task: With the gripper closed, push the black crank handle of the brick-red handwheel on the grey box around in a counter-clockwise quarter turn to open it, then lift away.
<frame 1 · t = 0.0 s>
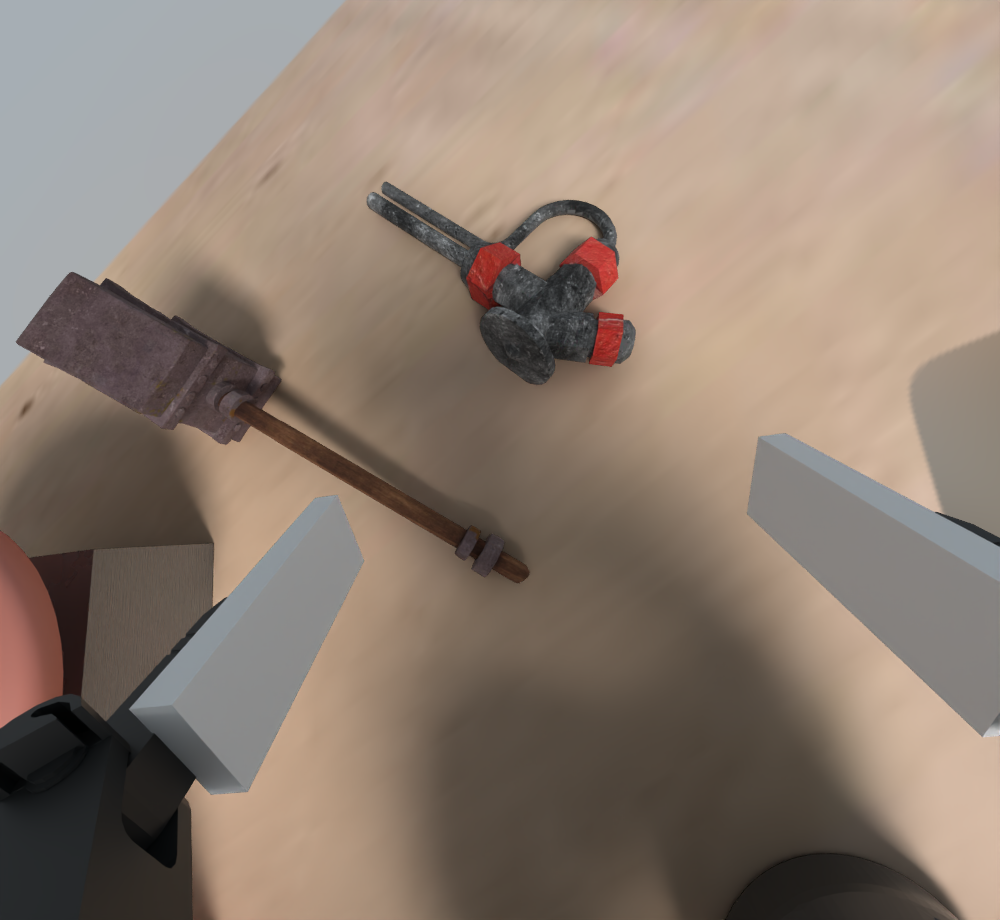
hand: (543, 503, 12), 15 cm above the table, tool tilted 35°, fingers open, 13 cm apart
grey box: (126, 647, 28), on the table
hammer: (348, 463, 30), on the table
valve: (510, 266, 31), on the table
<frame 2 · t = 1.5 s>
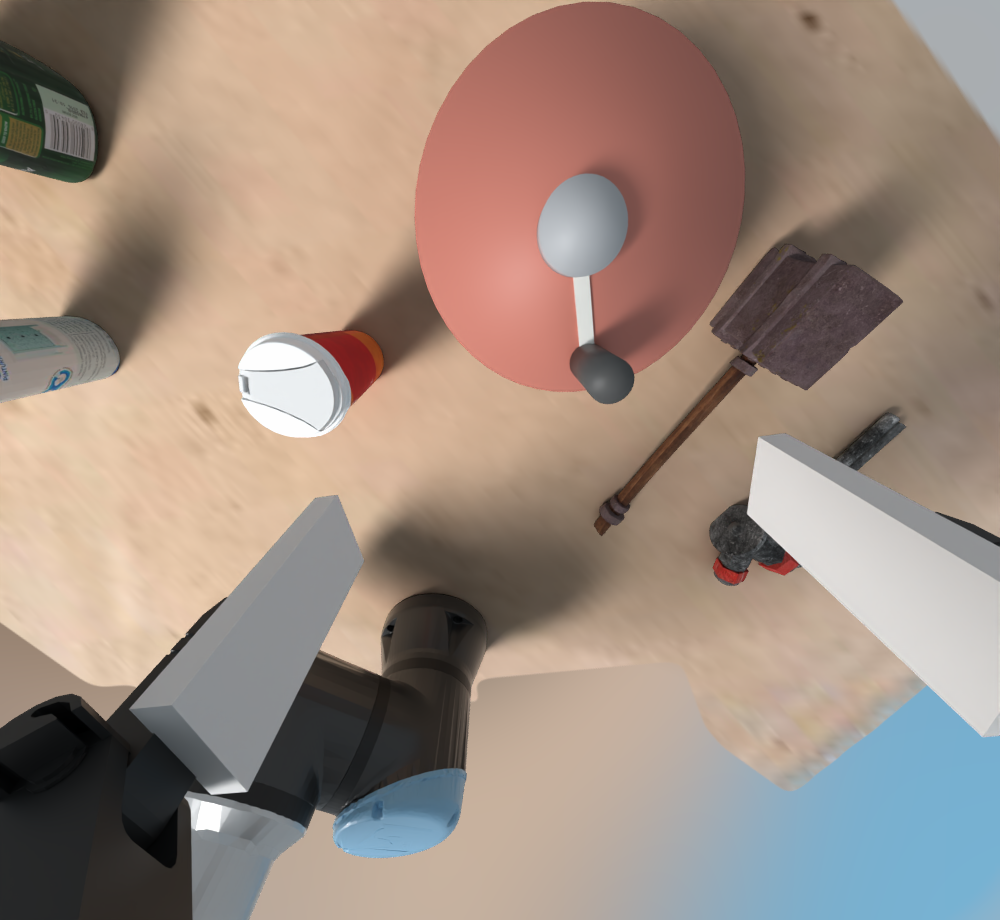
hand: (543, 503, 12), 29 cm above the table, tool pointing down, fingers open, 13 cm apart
handwheel: (579, 230, 22), point 13 cm above the table, hinge at 0.0°
spray paint can: (89, 348, 38), on the table
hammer: (676, 413, 41), on the table
paper cup: (358, 358, 39), on the table
coffee jar: (45, 121, 31), on the table
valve: (796, 505, 47), on the table
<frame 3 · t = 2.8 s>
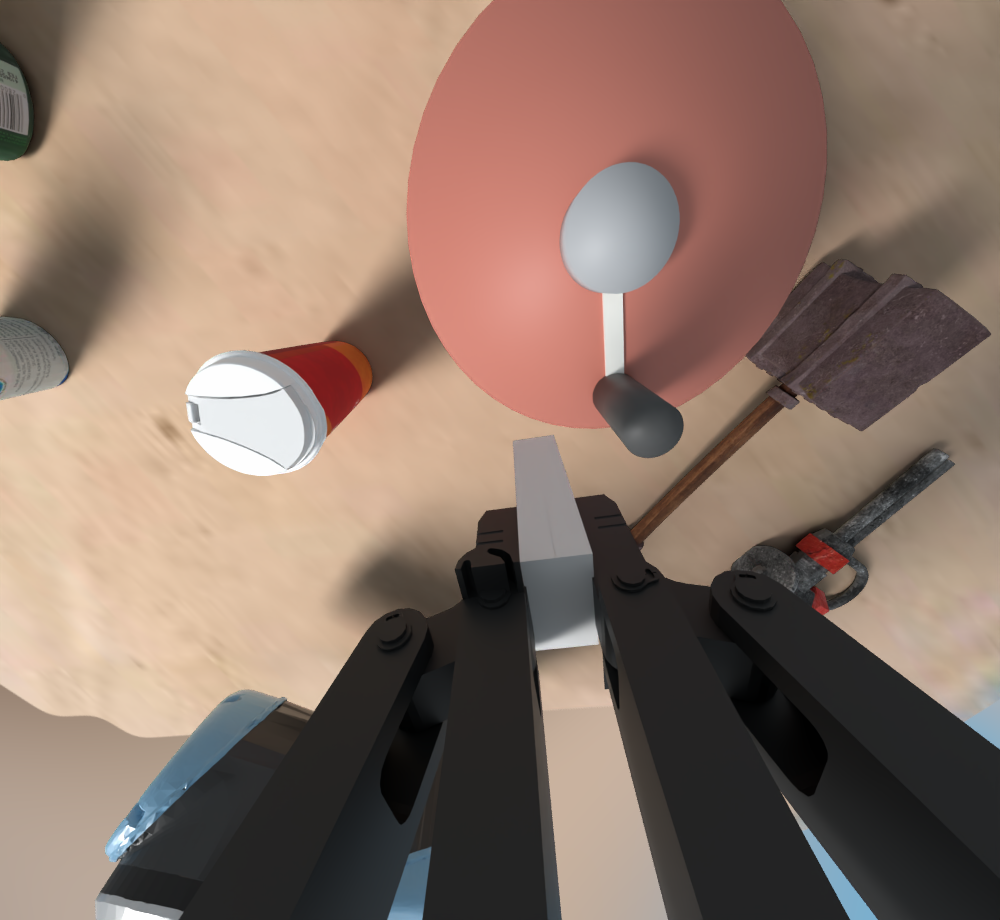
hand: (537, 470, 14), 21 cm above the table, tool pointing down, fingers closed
handwheel: (615, 235, 17), point 13 cm above the table, hinge at 0.0°
spray paint can: (33, 353, 33), on the table
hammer: (698, 443, 37), on the table
paper cup: (343, 372, 34), on the table
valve: (826, 544, 42), on the table
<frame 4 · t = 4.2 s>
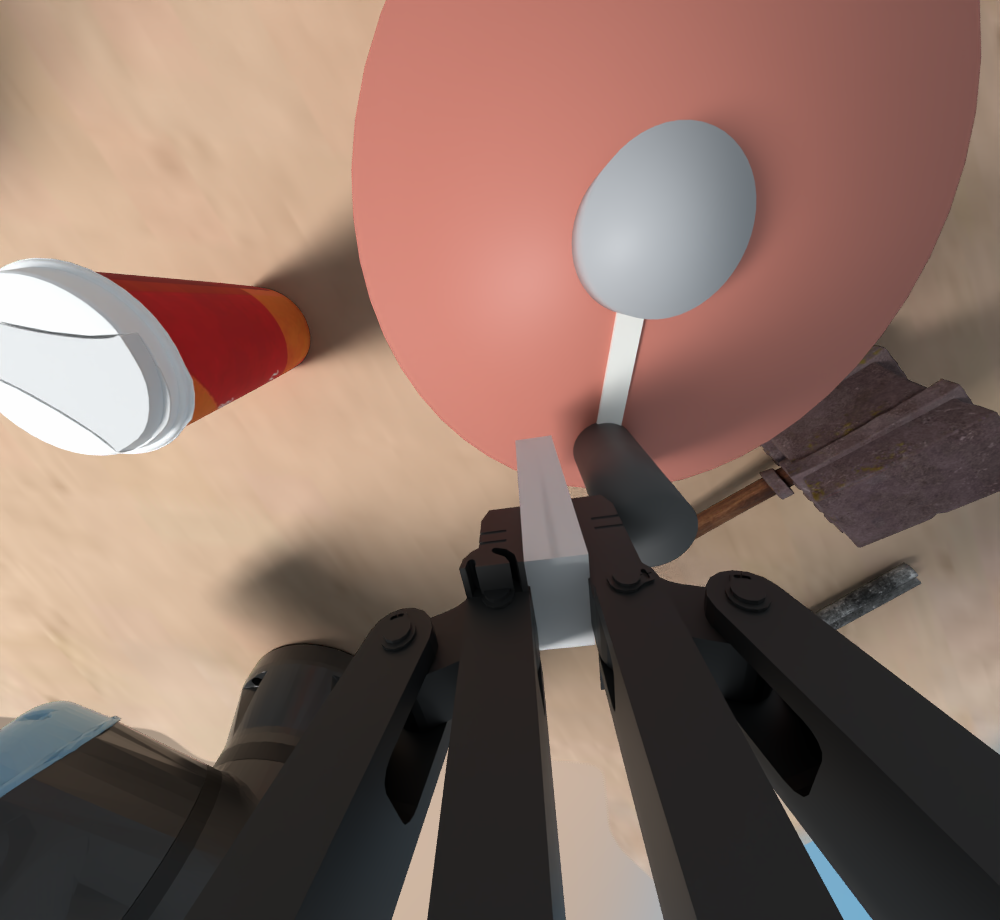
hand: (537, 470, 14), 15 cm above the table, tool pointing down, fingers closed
handwheel: (653, 234, 12), point 13 cm above the table, hinge at 0.7°, touching gripper
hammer: (672, 508, 33), on the table
paper cup: (273, 330, 27), on the table
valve: (775, 637, 40), on the table
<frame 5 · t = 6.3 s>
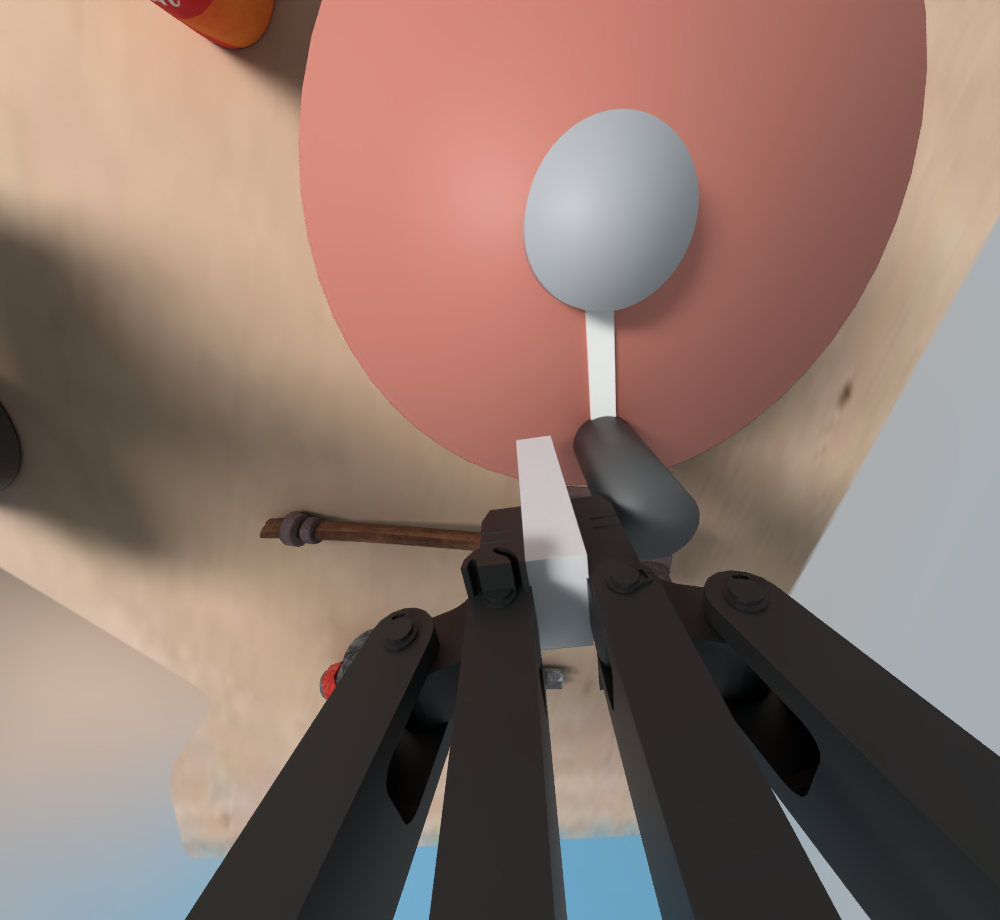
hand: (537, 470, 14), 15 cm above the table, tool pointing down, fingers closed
handwheel: (601, 225, 12), point 13 cm above the table, hinge at 59.7°, touching gripper
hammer: (454, 516, 33), on the table
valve: (447, 672, 43), on the table
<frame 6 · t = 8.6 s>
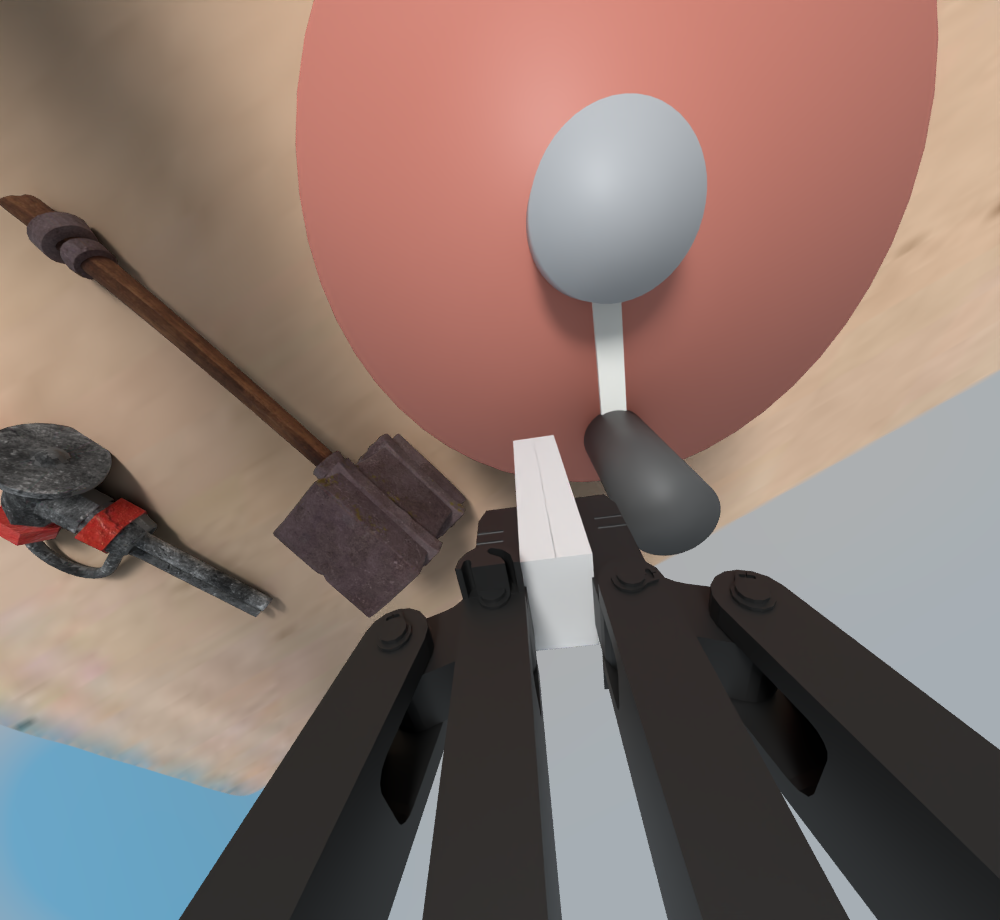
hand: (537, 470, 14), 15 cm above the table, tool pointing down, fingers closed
handwheel: (606, 215, 12), point 13 cm above the table, hinge at 107.1°
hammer: (279, 383, 28), on the table
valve: (138, 533, 35), on the table
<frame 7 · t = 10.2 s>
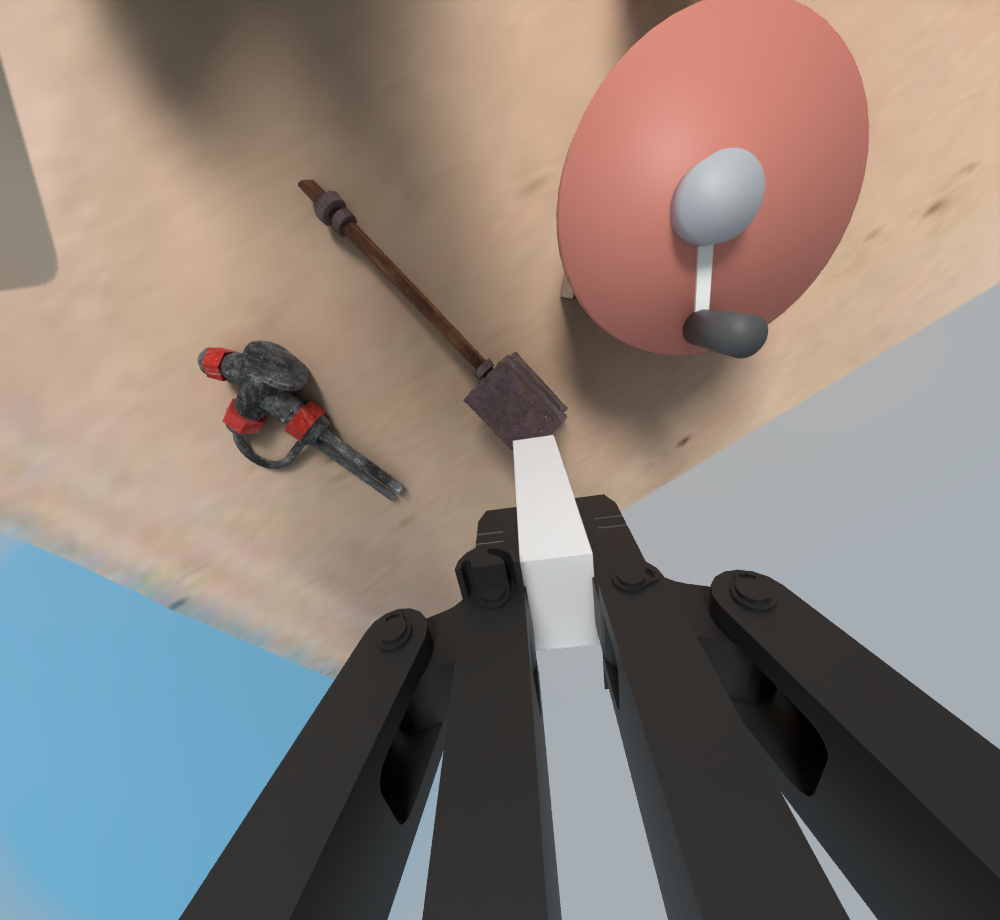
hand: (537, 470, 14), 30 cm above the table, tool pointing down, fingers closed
handwheel: (713, 201, 24), point 13 cm above the table, hinge at 107.2°
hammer: (440, 316, 40), on the table
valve: (309, 434, 47), on the table
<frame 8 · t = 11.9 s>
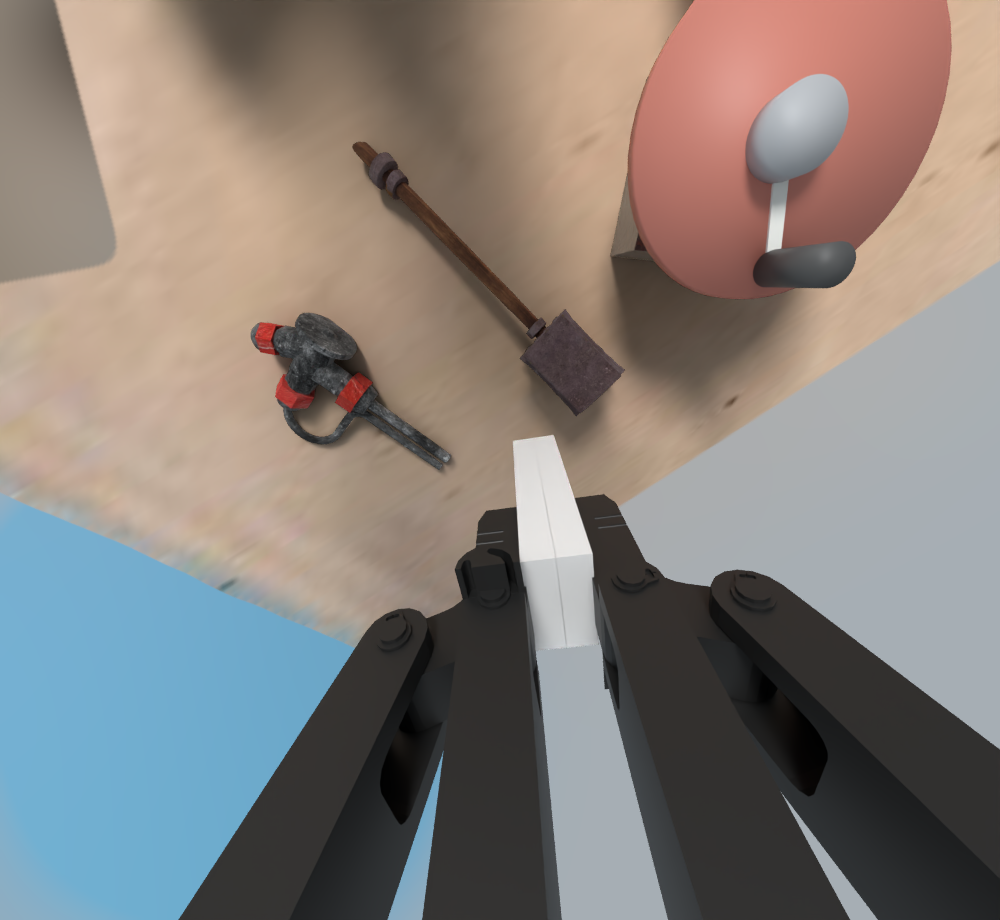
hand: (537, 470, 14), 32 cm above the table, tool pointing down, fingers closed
handwheel: (792, 134, 24), point 13 cm above the table, hinge at 107.2°
grey box: (696, 183, 36), on the table
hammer: (488, 279, 41), on the table
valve: (356, 407, 47), on the table
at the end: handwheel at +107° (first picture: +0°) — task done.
